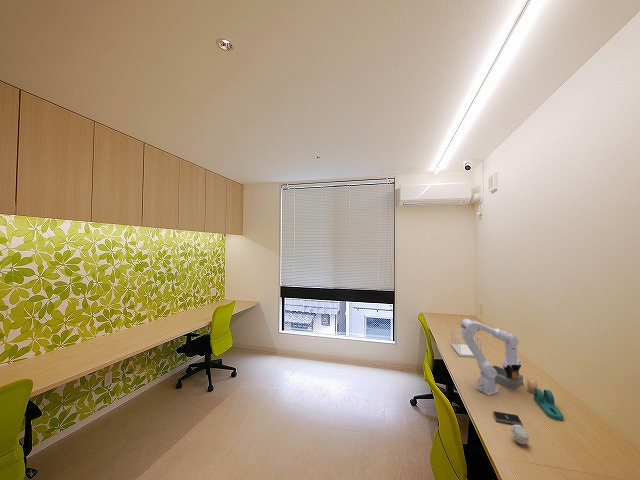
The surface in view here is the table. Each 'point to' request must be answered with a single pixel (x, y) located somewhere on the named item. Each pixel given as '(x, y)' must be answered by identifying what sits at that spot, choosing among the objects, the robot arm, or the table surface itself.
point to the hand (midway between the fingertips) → (512, 376)
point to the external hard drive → (507, 418)
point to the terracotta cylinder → (531, 385)
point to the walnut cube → (514, 376)
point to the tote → (502, 378)
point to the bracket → (547, 404)
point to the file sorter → (462, 346)
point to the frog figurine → (519, 434)
